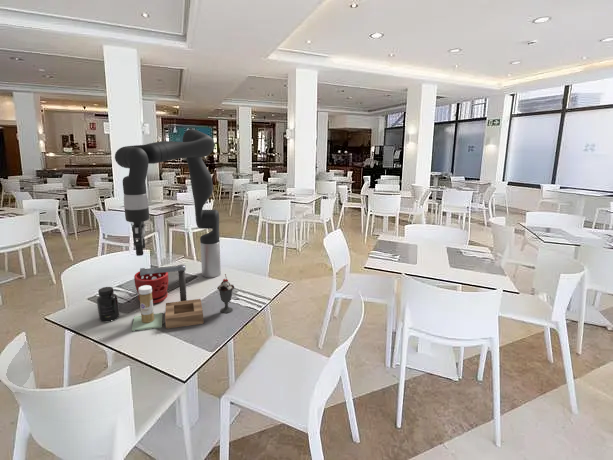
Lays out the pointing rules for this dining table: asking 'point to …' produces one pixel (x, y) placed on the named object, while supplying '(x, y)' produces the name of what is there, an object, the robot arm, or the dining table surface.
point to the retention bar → (162, 269)
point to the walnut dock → (183, 309)
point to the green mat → (142, 326)
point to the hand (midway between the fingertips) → (141, 251)
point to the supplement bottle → (107, 304)
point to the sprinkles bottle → (146, 303)
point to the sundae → (226, 294)
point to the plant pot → (153, 285)
